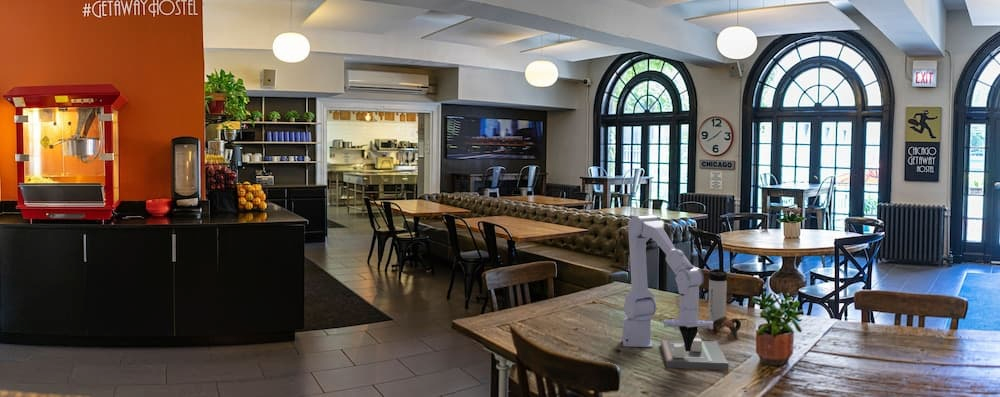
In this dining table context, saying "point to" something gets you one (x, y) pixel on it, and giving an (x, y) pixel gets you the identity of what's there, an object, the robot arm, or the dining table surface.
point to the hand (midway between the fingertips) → (687, 350)
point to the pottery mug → (728, 324)
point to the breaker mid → (697, 345)
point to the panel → (695, 356)
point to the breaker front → (679, 351)
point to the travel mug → (717, 294)
